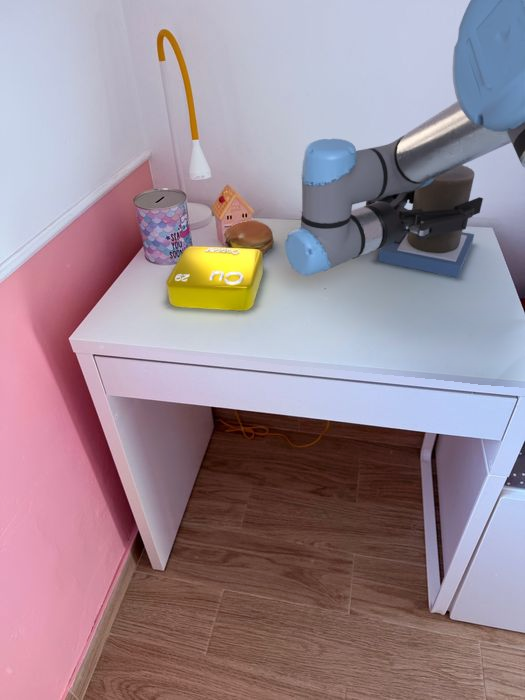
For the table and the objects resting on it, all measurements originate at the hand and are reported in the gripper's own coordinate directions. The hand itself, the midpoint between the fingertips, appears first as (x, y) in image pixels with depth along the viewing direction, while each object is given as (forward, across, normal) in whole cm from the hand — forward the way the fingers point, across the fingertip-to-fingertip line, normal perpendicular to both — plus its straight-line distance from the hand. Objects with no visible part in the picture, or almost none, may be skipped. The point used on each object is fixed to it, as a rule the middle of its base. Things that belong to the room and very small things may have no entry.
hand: (456, 196), depth 97 cm
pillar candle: (-4, 0, -8) cm, 9 cm away
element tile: (-44, -15, -11) cm, 48 cm away
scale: (-4, -1, -11) cm, 12 cm away
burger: (-30, -25, -11) cm, 41 cm away
